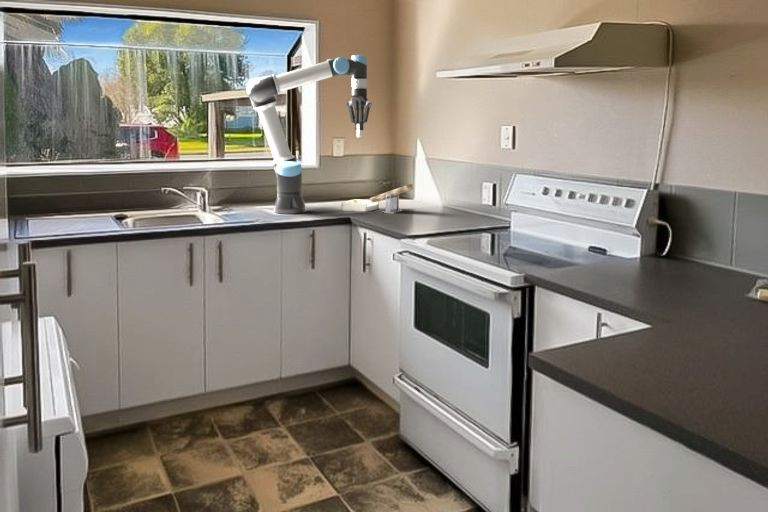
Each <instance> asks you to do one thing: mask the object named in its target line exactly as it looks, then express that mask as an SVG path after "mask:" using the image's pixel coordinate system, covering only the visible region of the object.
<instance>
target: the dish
mask: <svg viewBox="0 0 768 512" xmlns="http://www.w3.org/2000/svg"><path fill="white" fill-rule="evenodd" d="M352 201H356V202H357V203H351V202H352ZM379 202H380V201H378V202H374V203H372V202H371V201H370V199H358V198H354V199H350V200H347V201H346V200H345V201H342V202H341V211H342V212H343V211H344V212H345V211H346V212H360V213H368V212H372V211H375V210H379V204H380V203H379Z"/></svg>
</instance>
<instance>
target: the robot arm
mask: <svg viewBox="0 0 768 512" xmlns="http://www.w3.org/2000/svg"><path fill="white" fill-rule="evenodd" d="M337 76H350V77H351V89H350V90H351V92H350V93H351V98H350V101H349V102H346V105H347V107H348V112H349V117H350V120H351V123H353V124H354V128H355V129H354V130H355V131H356V138H363V131H364V124H366V123H367V122H368V119H369V115H370V110H371V107H372V105H373V103H372V102H370V101H369V99H368V98H367V97H368V90H367V87H368V59H367V56H366V55H364V54H363V55H362V54H352V55H351V57H350V59H349V58H346V57H344V56H338V57H336V58H328V59H326V61H323V62H319V63H316V64H312V65H307V66H304V67H302V68H297V69H293V70H291V71H288V72H283V73H281V74H276V75H275V74H273V73H272V74H267V75H262V76H255V77H252V78H251V79H249V81H248V83H247V85H246V93H247V96H248V97H249V101H250V102H251V106H252V109H253V110H254V111H256V112H257V113H258V117H259V119H260V123H261V125H262V128H263V131H264V135H265V136H266V140H267V143H268V146H269V148H270V152H271V154H272V157H273V161H272V164H271V165H272V166H273V169H274V173H275V175H276V192H277V193H276V195H277V196H276V199H275V202H274V205H273V213H276V214H285V215H286V214H288V215H289V214H292V215H293V214H303V213H306V212H307V207H306V203H305V199H304V198H303V184H302V183H303V177H302V176H303V175H302V173H303V167H302V164H301V163H300V162H299V161H297V159H296V155H294V154H292V152H291V150H290V148H289V144H288V141H287V138H286V135H285V133H284V130H283V126H282V124H281V123H282V122H281V121H280V117H279V115H278V112H277V108H276V105H277V98H276V96H279V95H280V94H281V93H283V92H285V91H288V90H291V89H292V90H293V89H295V88H299V87H301V86H306V85H309V84H312V83H315V82H320V81H323V80H326V79H330V78H334V77H337ZM353 106H354V107H353Z"/></svg>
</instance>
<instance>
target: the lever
mask: <svg viewBox="0 0 768 512" xmlns="http://www.w3.org/2000/svg"><path fill="white" fill-rule="evenodd" d="M412 190H414V185H413V183H410V184H406V185H403V186H400V187H398V188H394V189H392V190H389V191H386V192H382V193H380V194H377V195H374V196H371V197H369V200H370V201H371V202H372V203H374V202H378V201H379V202H382V201H384V200H385V201H386V193H391V197H394V196H395V195H398V194H399V195H401V194H403V193H405V192H409V191H412Z"/></svg>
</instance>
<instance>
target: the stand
mask: <svg viewBox="0 0 768 512" xmlns="http://www.w3.org/2000/svg"><path fill="white" fill-rule="evenodd" d="M385 193H386V192H385ZM399 208H400V194H398V195H395V196H392V197H391V193H386V199H385V210H382V211H381V213H382V212H384V213H383V214H396V212H397V213H400V212H403V209H402V208H400V209H399Z"/></svg>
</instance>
